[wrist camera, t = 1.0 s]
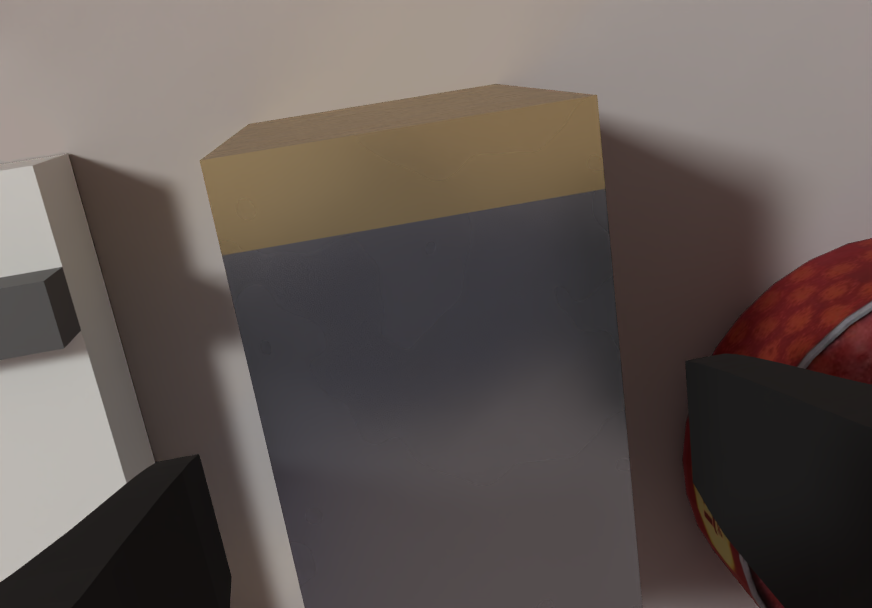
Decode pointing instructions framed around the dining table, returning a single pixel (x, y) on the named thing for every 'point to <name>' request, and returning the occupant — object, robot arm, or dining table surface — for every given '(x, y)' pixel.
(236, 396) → the dining table surface
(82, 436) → the stand
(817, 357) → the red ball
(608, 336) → the housing
